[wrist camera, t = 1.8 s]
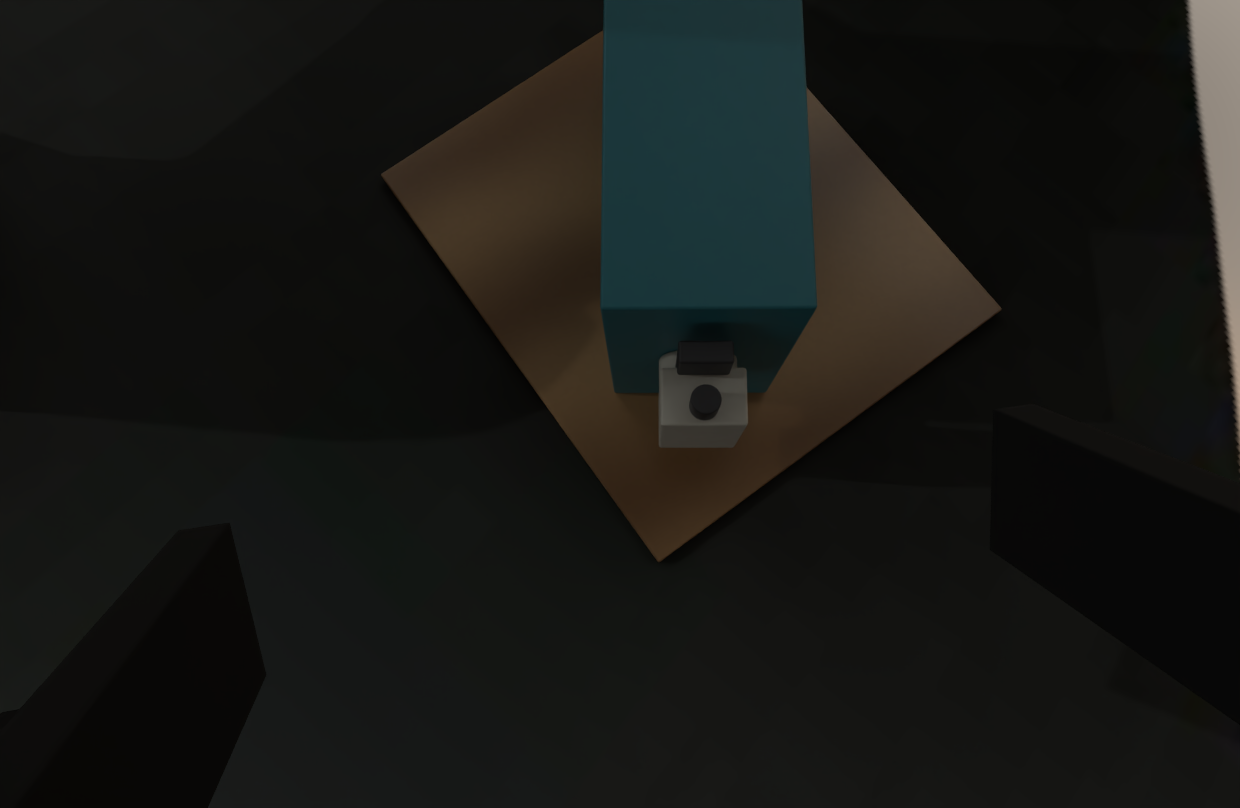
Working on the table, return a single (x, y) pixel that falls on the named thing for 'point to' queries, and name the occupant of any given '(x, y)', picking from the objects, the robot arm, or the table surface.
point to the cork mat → (571, 275)
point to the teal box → (704, 206)
